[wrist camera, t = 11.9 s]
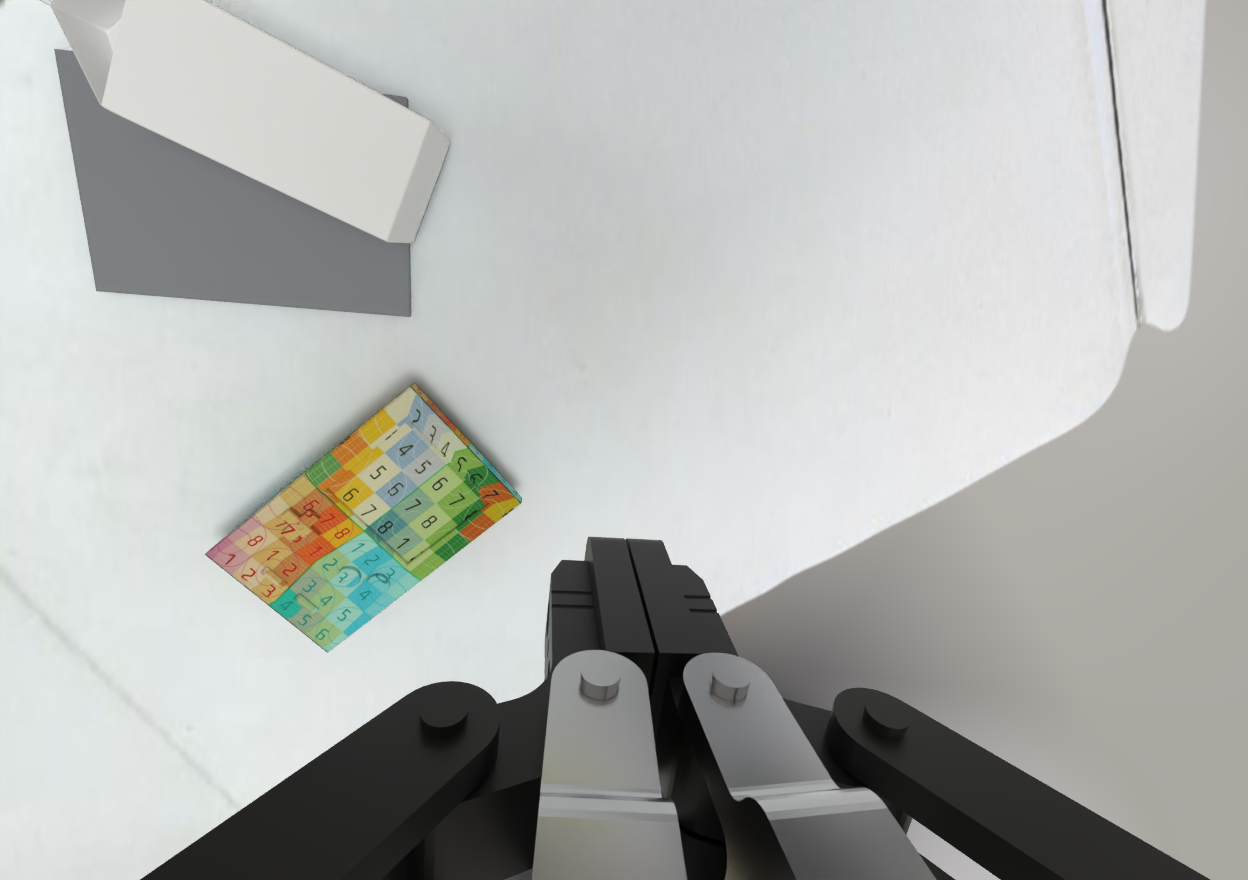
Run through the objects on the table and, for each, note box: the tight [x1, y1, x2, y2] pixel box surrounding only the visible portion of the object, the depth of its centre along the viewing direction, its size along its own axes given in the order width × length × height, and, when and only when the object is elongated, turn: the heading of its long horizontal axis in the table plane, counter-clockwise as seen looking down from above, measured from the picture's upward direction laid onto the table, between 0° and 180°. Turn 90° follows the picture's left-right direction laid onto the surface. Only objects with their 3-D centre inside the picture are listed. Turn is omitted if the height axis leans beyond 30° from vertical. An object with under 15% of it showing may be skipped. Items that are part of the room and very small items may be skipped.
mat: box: [54, 49, 411, 317], centre depth 38 cm, size 14×20×1 cm
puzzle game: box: [205, 383, 522, 653], centre depth 44 cm, size 12×5×20 cm
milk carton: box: [40, 0, 450, 243], centre depth 34 cm, size 7×7×19 cm
